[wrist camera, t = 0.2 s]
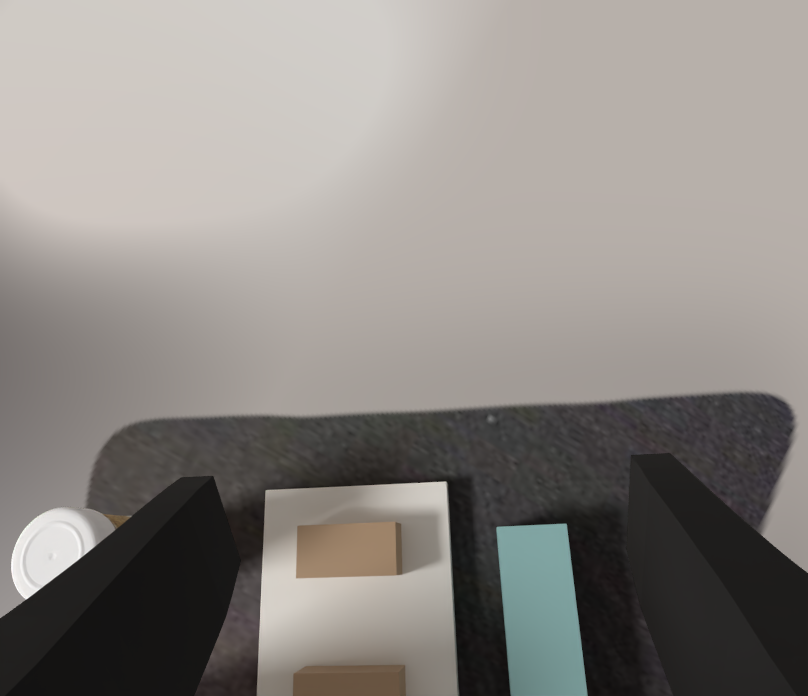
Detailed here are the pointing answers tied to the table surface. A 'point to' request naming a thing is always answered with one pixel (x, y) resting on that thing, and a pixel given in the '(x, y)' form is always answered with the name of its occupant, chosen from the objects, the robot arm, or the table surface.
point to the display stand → (358, 592)
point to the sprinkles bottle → (57, 544)
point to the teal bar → (540, 611)
